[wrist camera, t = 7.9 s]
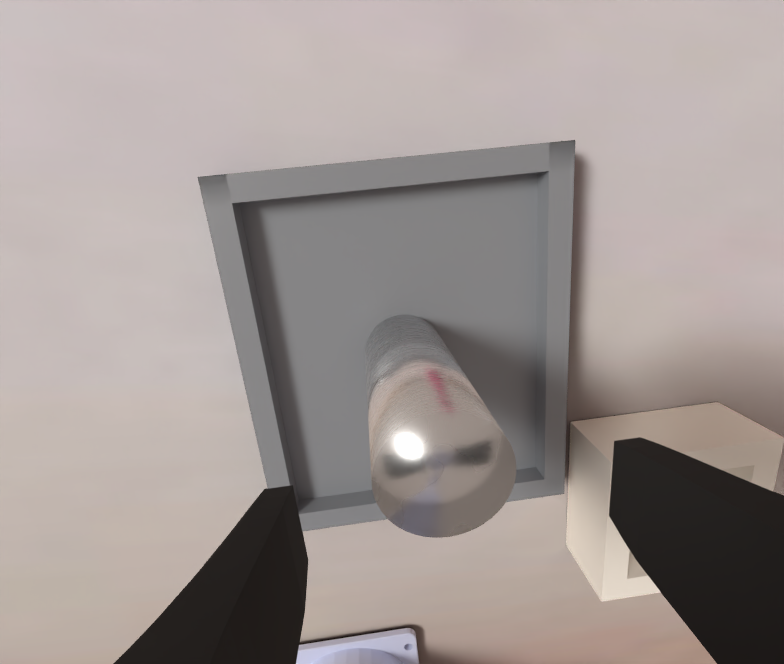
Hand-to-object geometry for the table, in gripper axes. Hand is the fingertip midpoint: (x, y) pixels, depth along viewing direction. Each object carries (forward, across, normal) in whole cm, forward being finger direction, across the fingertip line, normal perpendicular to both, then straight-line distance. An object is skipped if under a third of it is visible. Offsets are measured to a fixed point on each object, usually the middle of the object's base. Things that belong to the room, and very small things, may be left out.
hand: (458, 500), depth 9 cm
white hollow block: (+10, -12, +9) cm, 18 cm away
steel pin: (+10, 0, 0) cm, 10 cm away
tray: (+10, 0, 0) cm, 10 cm away
